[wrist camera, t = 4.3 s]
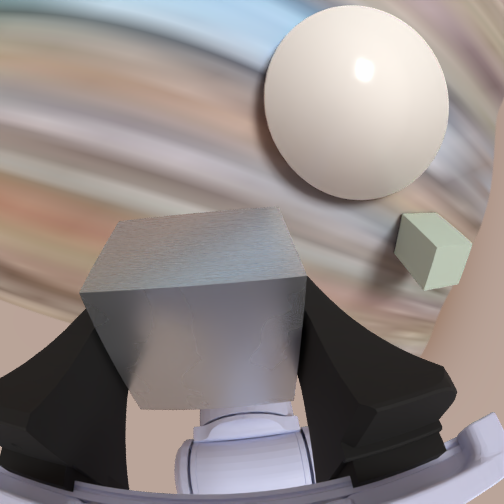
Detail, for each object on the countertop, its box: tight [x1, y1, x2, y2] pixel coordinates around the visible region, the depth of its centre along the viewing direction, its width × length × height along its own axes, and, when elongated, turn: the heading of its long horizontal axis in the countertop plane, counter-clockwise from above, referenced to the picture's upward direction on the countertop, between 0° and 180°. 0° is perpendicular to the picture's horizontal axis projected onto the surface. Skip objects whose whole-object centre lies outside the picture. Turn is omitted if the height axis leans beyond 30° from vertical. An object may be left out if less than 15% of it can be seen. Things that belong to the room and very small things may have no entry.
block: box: [394, 213, 472, 291], centre depth 21 cm, size 4×4×5 cm
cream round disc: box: [264, 6, 449, 200], centre depth 17 cm, size 13×13×1 cm
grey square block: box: [79, 207, 307, 410], centre depth 10 cm, size 6×6×4 cm
